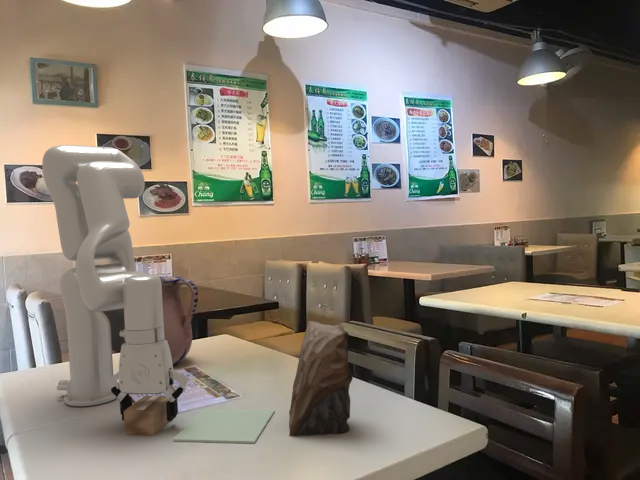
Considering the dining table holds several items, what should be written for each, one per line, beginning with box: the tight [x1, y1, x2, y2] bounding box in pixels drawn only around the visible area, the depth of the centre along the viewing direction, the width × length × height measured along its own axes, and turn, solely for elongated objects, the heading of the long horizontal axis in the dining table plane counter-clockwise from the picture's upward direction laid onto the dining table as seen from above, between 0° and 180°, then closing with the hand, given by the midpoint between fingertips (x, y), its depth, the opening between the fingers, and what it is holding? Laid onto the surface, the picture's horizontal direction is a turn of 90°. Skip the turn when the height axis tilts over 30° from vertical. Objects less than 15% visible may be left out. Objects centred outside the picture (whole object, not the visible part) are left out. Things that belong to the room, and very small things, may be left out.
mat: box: [172, 408, 275, 444], centre depth 112 cm, size 16×16×1 cm
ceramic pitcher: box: [158, 276, 199, 366], centre depth 160 cm, size 18×21×25 cm
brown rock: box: [288, 320, 354, 437], centre depth 110 cm, size 13×13×20 cm
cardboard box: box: [123, 395, 170, 437], centre depth 113 cm, size 6×9×5 cm, turn 172°
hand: (149, 418), depth 113 cm, fingers open, 9 cm apart
